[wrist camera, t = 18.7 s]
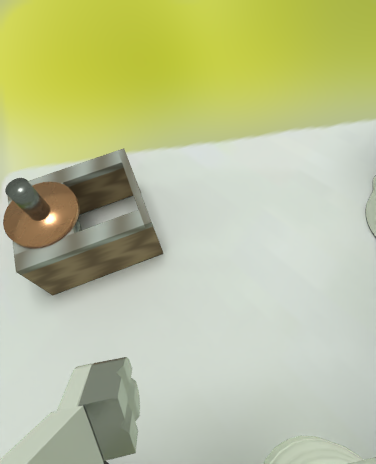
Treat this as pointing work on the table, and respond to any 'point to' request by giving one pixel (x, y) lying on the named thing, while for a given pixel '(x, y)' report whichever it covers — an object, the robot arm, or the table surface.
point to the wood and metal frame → (92, 228)
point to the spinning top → (40, 213)
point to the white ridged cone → (310, 452)
